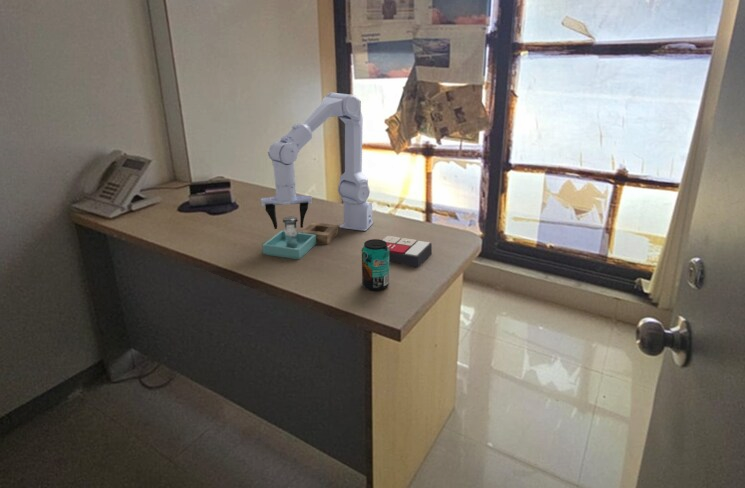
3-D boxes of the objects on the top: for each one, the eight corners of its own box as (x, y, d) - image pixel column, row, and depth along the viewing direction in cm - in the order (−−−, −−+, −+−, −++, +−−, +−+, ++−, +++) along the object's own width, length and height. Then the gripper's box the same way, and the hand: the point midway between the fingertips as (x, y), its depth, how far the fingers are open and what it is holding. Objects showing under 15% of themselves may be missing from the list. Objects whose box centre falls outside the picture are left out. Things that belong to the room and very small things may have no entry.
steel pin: (301, 244, 150) (300, 217, 146) (295, 250, 146) (292, 222, 142) (289, 242, 151) (287, 215, 147) (282, 248, 147) (279, 220, 144)
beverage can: (361, 279, 130) (361, 238, 125) (387, 278, 130) (388, 237, 125) (362, 292, 124) (362, 249, 119) (390, 291, 124) (390, 248, 119)
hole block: (338, 233, 159) (338, 225, 158) (327, 244, 151) (327, 235, 150) (313, 230, 162) (312, 222, 160) (301, 240, 154) (300, 232, 153)
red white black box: (386, 234, 150) (432, 240, 143) (387, 246, 152) (432, 253, 145) (370, 247, 141) (417, 254, 135) (370, 260, 143) (417, 268, 136)
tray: (316, 243, 152) (316, 234, 151) (299, 259, 141) (298, 250, 140) (282, 238, 155) (281, 230, 154) (263, 254, 145) (262, 244, 144)
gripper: (258, 188, 136) (263, 233, 141) (310, 186, 137) (313, 230, 143) (260, 181, 142) (265, 224, 148) (310, 179, 143) (313, 222, 149)
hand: (288, 227), depth 146 cm, fingers open, 7 cm apart
